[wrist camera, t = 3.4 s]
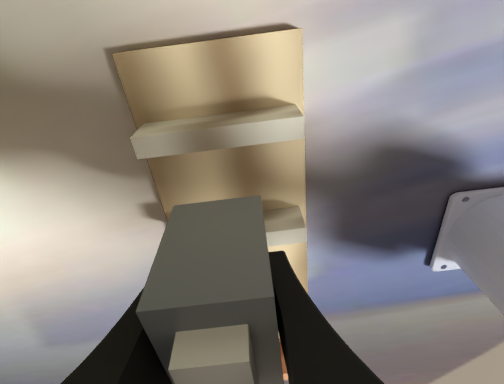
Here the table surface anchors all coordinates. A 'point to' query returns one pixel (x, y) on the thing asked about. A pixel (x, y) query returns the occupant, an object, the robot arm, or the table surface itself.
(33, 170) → the table surface
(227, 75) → the wooden board with blocks
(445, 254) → the robot arm
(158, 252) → the plug
